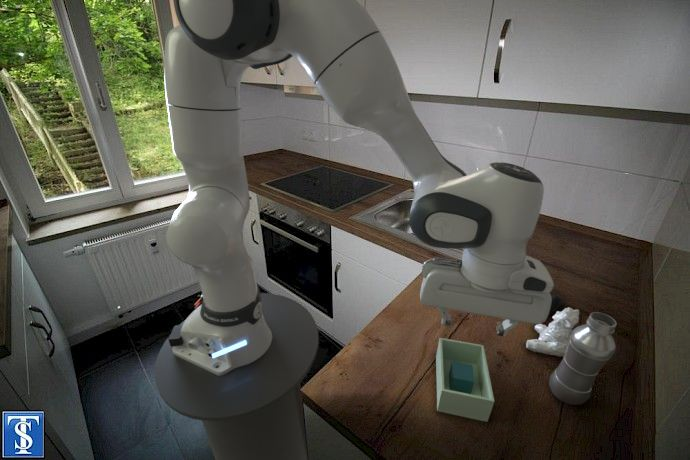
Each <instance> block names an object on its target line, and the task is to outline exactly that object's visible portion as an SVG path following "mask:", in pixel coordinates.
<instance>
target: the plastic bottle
mask: <svg viewBox="0 0 690 460" xmlns="http://www.w3.org/2000/svg"><path fill="white" fill-rule="evenodd" d="M616 327H617V321H616V320H615V319H614V317H612V316H610V315H608V314H607V313H604V312H599V311H593V312H590V314H589V316H588V318H587V319H586V321H585V324H580V325H579V326H577V327H575V328H574V329H572V332H571V334H570V338H569V342H568V347H567V350H566V353H565V355H564V357H562V360H561V362H560V363H559V364H558V366H557V368H555V369H554V370H553V371H552V373H551V374H550V376H549V379H548V388H549V389H550V391H551V393H552V395H553V396H554V397H555V398H557V399H558V400H559V401H560V402H563V403H564V404H567V405H570V406H581V405H583V404H585V403H586V402H587V401H588V400H589V399H590V397H591V394H592V389H593V386H594V383H595V380H596V379H597V376H598V374H599V373H600V371H601V370H602V368H603V367H604V366H605V365H606V364H607V363H608V362H609V360H611V358H612V357H613V356H614V354H615V352H616V347H617V344H616V342H615V339H614V337H613V334H614V333H615V331H616V330H615V329H616Z"/></svg>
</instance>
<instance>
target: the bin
mask: <svg viewBox="0 0 690 460" xmlns="http://www.w3.org/2000/svg"><path fill="white" fill-rule="evenodd" d="M452 361H453V362H458V363H463V364H469V365H472V368H473V376H474V385H473V388H472V392H471V394H467V393H462V392H457V391H452V390H450V387H449V371H450V367H451V362H452ZM435 370H436V371H435V373H436V378H435V379H436V410H437V411H436V412H440V413H443V414H448V415H453V416H458V417H463V418H467V419H470V420H471V419H472V420H476V421H481V422H484V423H485V422H486V423H488V422H489V418H490V416H491V413H492V410H493V407H494V404H495V402H496V401H495V397H494V391H493V386H492V381H491V377H490V371H489V366H488V361H487V356H486V350H485V346H484V344H479V343H472V342H467V341H462V340H461V341H460V340H455V339H449V338H445V337H444V338H443V337H439V339H438V344H437V350H436V355H435Z"/></svg>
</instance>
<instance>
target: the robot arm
mask: <svg viewBox="0 0 690 460" xmlns="http://www.w3.org/2000/svg"><path fill="white" fill-rule="evenodd" d="M173 6H174V12H175V15H176V17H177V20H178V23H179V25H177V26H176V25H175V26H174V27H173V28H171V29H170V30H169V32H168V33H167V35H166V36H165V37H166V38H165V43H164V58H163V59H164V60H163V61H164V62H163V72H164V73H163V74H164V75H163V77H164V91H165V100H166V108H167V115H168V123H169V130H170V138H171V143H172V144H171V145H172V152H173V154H174V156H175V157H176V159H177V160H178V161H179V162H180V163H181V165H182V168H183V170H184V173H185V176H186V178H187V183H188V194H187V197H186V198H185V199H184V200H183V201H182V203H181V204H180V205H179V206H178V208H177V209H175V211H174V212H173V214H172V216H171V218H170V222H169V224H168V228H167V231H166V244H167V247H168V249H169V251H170V252H171V254H172V255H173V256H174V257H175V258H176V259H178V260H179V261H180V262H183V263H184V264H186V265H189V266H191V268H192V269H193V271H194V273H195V274H196V277H197V280H198V284H199V288H200V290H201V295H200V298H199V299H198V300H197V301H196V302H195V303H194V304H193V306H194V310H193V311H192V312H191V313H190V314H189V315H188V316H187V317H186V319H185V320H184V321H185V322H184V321H183V322H184V323H183V325H180V324H178V325H174V326H173V328H172V330H171V333H170V334H169V335H168V337H167V338H168V341H169V343H170V346H171V347H173V349H172V351H173V354H174V355H176V356H178V357H180V358H182V359H184V360H187V361H189V362H191V363H193V364H195V365H197V366H199V367H201V368H203V369H205V370H207V371H210V372H212V373H214V374H216V375H218V376H222V375H224V374H226V373H228V372H230V371H231V370H233V369H235V368H237V367H241V366H244V365H247V364H249V363H252V362H254V361H255V360H257V359H258V358H260V357H261V356H262V355H263V354H264V353H265V352H266V351H267V350H268V348H269V347H270V344H271V342H272V332H271V330H270V328H269V327H268V325H267V323H266V320H265V318H264V315H263V312H262V300H261V294H260V293H261V290H260V287H259V286H258V283H257V277H256V276H257V275H256V271H255V265H254V264H255V263H254V260H253V258H252V256H251V255H249V253H248V251H247V248H246V246H245V242H244V224H245V221H246V219H247V216H248V213H249V211H250V208H251V207H250V204H251V199H250V191H249V190H250V189H249V182H248V174H247V170H246V169H247V168H246V164H245V157H244V139H243V118H242V117H243V116H242V98H241V97H242V94H241V82H242V78H243V75H244V73H245V72H246V70H247V69H248V68H249V67H250V68H251V69H253V70H258V69H259V70H260V69H262V68H265V67H270V66H275V65H278V64H282V63H284V62H286V61H288V60H290V59H291V58H293V57H294V58H295V59H296V60H297V61H298V62H299V64H300V65H301V66H302V68H303V70H304V71H305V72H306V74H307V76H308V77H309V78H310V80H311V81H312V83H313V85H314V86H315V88H316V89H317V91H318V92H319V93H320V95H321V97H322V98H323V100H324V101H325V102H326V104H327V105H328V106H329V107H330V109H331V110H333V111H334V112H335V114H336V115H337V116H339V118H340V119H341V120H342V121H344V123H346V124H348V125H351V126H352V127H353V126H354V127H357V128H360V129H364V130H368V131H370V132H372V133H374V134H376V135H378V136H380V137H381V138H382V140H384V141H385V142H386V143H387V144H388V146H389V147H390V148H391V150H392V151H393V153H394V154H395V155H396V157H397V158H398V160H399V161H400V163H401V164H402V166H403V167H404V169H405V170H406V172H407V173H408V174H409V176H410V178H411V181H412V185H413V194H414V195H413V197H412V198H413V199H412V201H411V206H410V211H409V215H408V222H409V227H410V230H411V231H412V234H413V235H414V236H415V238H417V240H419V241H420V242H421V243H423V244H425V245H427V246H429V247H433V248H436V249H437V248H438V249H455V250H456V249H457V250H458V249H459V250H462V249H463V250H462V255H461V259H460V260H459V259H452V258H442V257H439V256H434V257H433V258H429V259H427V260H425V261H424V262H423V265H422V268H421V275H422V277H423V278H422V281H421V285H420V289H419V301H420V302H421V304H422V305H423V306H426V307H431V308H437V310H438V313H439V315H440V317H441V326H443V327H448V328H450V327H451V324H452V314H451V313H449V312H448V310H449V311H455V312H462V313H468V314H473V315H477V316H478V315H479V316H485V317H492V318H497V319H503V321H502V322H501V321H500V322H499V321H497V322H496V326H495V330H494V331H495V333H496V334H495V335H496V336H498V337H504V338H505V337H507V335H508V332H509V331H511V330H512V329H514V328H515V327H517V326H519V324H520V323H525V324H533V325H537V324H543V323H544V322H546V321H547V319H548V317H549V315H550V314H549V311H550V308H551V303H552V297H551V295H550V293H549V292H552V291H553V289H554V287H555V283H554V281H553V277H552V276H551V274H550V272H549V270H548V269H547V267H546V265H544V264H543V262H542V261H541V260H539V259H537V258H535V257H532V256H530V255H527V246H528V242H529V241H530V239H531V238H532V237H533V235H534V234H535V230H536V227H537V225H538V222H539V217H540V213H541V209H542V205H543V201H544V190H545V187H544V183H542V180H541V179H540V178H539V177H538V175H536V173H534V172H533V171H531V170H529V169H526V168H525V167H522V166H521V165H520V166H519V165H517V164H513V163H509V162H491V163H489V164H488V165H487V166H485V167H484V168H481V169H479V170H477V171H475V172H472V173H469V174H467V173H466V172H465V171H464V170H463V169H461V168H460V167H459V166H457V165H456V164H454V163H452V162H450V161H449V160H448V159H447V158H446V157H444V155H443V154H442V153H441V152H440V150H439V148H438V147H437V146H436V144H435V143H434V141H433V140H432V137H431V136H430V135H429V133H428V130H426V128H425V126H424V125H423V124H422V122H421V120H420V119H419V117H418V115H417V114H416V111H415V109H414V106H413V104H412V101H411V98H410V96H409V94H408V90H407V87H406V84H405V82H404V79H403V77H402V74H401V71H400V69H399V66H398V63H397V61H396V59H395V57H394V55H393V53H392V50H391V49H390V47H389V44H388V42H387V41H386V38H385V37H384V36H383V33H382V32H381V30H380V29H379V27H378V26H377V24H376V22H375V21H374V19H373V18H372V16H371V15H370V13H369V12H368V10H367V9H366V7H365V6H364V4H363V3H362V2H361V0H173ZM447 312H448V313H447ZM548 314H549V315H548ZM217 367H218V368H217Z"/></svg>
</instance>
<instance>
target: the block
mask: <svg viewBox="0 0 690 460" xmlns="http://www.w3.org/2000/svg"><path fill="white" fill-rule="evenodd" d="M473 385H474V376H473V368H472V365H469V364H463V363H458V362H453V361H452V362H451V367H450V371H449V387H450V390H452V391H457V392H462V393H467V394H471V392H472V388H473Z"/></svg>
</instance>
